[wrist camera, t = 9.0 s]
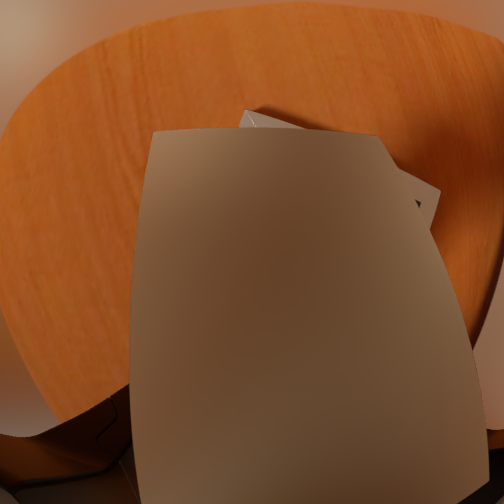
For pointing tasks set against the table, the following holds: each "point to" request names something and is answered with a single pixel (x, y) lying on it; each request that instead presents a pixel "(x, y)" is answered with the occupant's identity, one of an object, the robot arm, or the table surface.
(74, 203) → the table surface
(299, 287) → the pale beige block
